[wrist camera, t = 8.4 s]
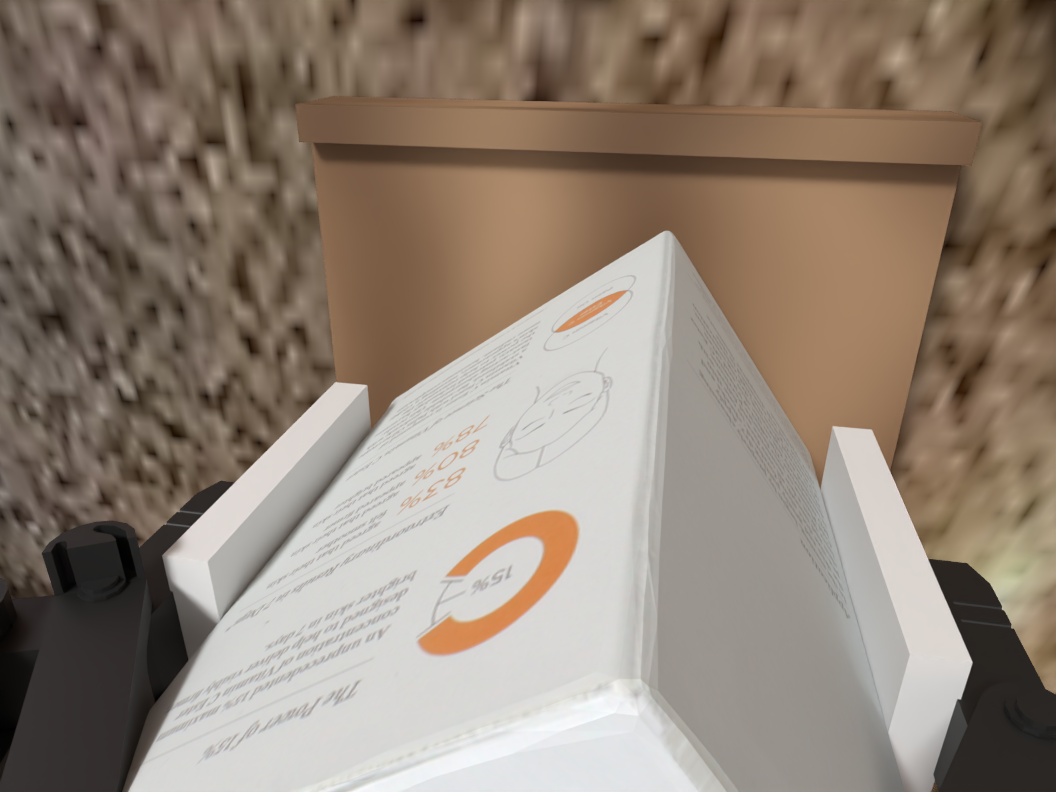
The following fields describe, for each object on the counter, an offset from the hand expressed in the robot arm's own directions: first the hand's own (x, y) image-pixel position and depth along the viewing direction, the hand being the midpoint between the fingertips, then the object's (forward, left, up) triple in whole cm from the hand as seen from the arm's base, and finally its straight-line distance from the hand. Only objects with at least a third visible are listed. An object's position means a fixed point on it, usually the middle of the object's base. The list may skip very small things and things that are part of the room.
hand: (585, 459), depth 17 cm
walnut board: (0, 0, -4) cm, 4 cm away
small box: (0, 0, -2) cm, 2 cm away
